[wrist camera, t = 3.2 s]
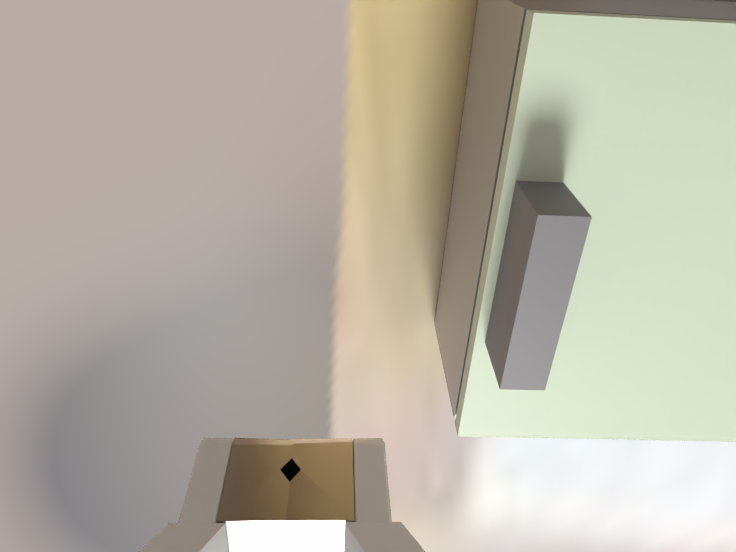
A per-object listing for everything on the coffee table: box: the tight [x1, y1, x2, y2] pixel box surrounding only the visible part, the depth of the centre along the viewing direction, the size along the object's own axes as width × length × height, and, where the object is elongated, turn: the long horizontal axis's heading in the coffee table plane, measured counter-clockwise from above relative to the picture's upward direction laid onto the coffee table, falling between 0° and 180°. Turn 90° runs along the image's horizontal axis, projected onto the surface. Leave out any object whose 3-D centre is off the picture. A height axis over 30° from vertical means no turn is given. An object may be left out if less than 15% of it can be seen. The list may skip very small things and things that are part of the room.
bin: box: [435, 0, 736, 419], centre depth 19 cm, size 15×13×5 cm
